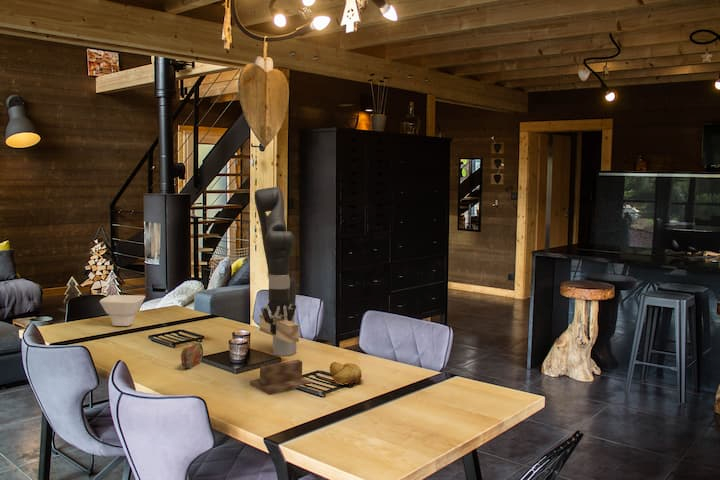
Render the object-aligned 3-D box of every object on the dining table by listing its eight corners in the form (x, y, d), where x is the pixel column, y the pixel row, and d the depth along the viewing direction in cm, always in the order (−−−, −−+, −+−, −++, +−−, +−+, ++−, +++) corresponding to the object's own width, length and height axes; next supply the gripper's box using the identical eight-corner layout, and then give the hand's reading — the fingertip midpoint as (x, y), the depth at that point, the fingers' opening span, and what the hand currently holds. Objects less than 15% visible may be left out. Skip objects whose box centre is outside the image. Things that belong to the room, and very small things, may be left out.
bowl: (135, 330, 324) (135, 302, 322) (96, 329, 324) (95, 301, 323) (148, 322, 342) (148, 295, 341) (111, 321, 342) (110, 294, 341)
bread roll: (354, 376, 254) (354, 356, 254) (370, 383, 247) (370, 362, 246) (326, 382, 246) (327, 361, 246) (342, 389, 239) (342, 367, 238)
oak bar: (267, 329, 250) (267, 313, 249) (298, 341, 232) (298, 324, 232) (259, 330, 248) (259, 314, 247) (290, 342, 230) (290, 325, 230)
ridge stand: (292, 376, 253) (292, 356, 252) (312, 385, 242) (312, 364, 241) (249, 384, 242) (250, 363, 241) (269, 394, 230) (269, 372, 230)
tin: (187, 371, 257) (187, 349, 256) (179, 370, 258) (179, 349, 257) (203, 361, 272) (203, 340, 271) (196, 360, 272) (196, 340, 272)
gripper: (290, 283, 246) (290, 329, 247) (256, 286, 237) (256, 334, 239) (301, 286, 240) (300, 333, 241) (266, 289, 231) (266, 338, 233)
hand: (278, 333), depth 240 cm, fingers closed on oak bar, 3 cm apart
